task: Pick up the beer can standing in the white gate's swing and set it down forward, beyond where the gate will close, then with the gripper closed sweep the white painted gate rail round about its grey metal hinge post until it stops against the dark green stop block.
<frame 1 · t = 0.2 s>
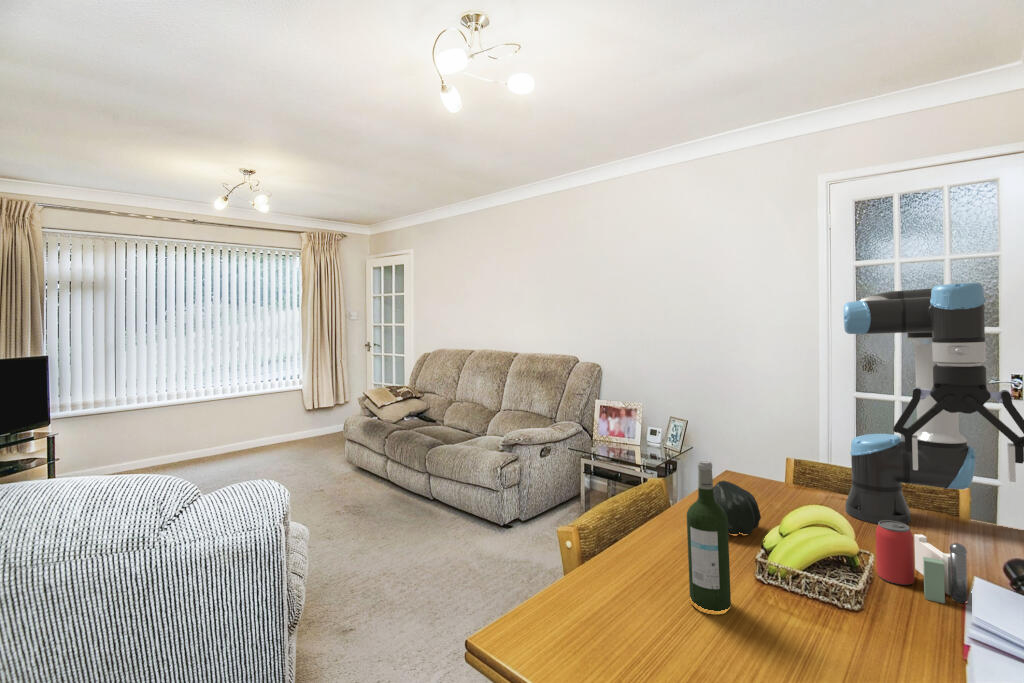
hand: (961, 474, 93), 27 cm above the table, tool pointing down, fingers open, 13 cm apart
hinge post: (959, 600, 98), on the table
wine bottle: (710, 605, 101), on the table
squash: (731, 531, 135), on the table
stop block: (934, 599, 99), on the table
beer can: (895, 579, 107), on the table
gate: (934, 563, 105), point 4 cm above the table, hinge at 0.0°
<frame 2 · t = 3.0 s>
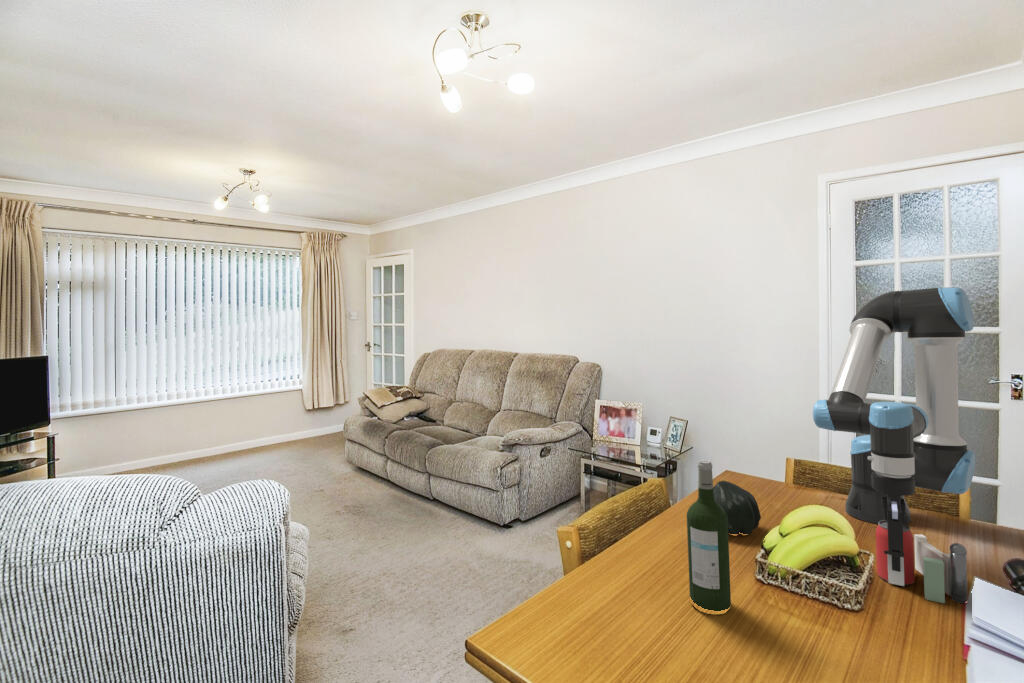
hand: (895, 576, 107), 0 cm above the table, tool pointing down, fingers closed on beer can, 7 cm apart
beer can: (895, 579, 107), on the table, touching gripper
everything else where it was.
when the fingers open (2 cm above the table, at t = 8.3 s): beer can drops 1 cm, on the table.
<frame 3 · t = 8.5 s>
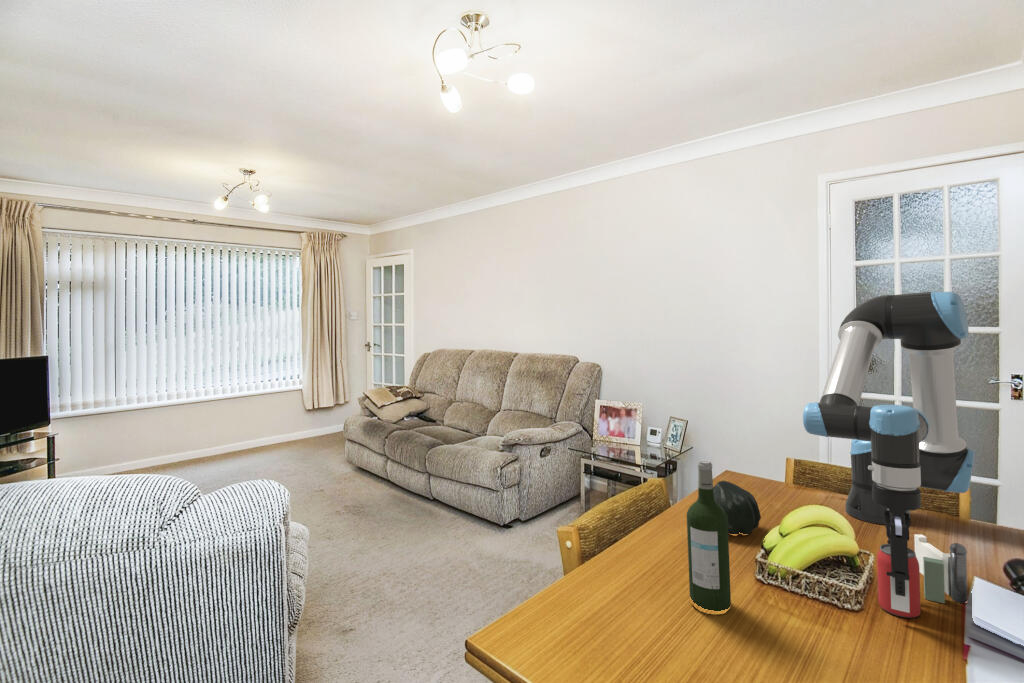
hand: (898, 597, 96), 3 cm above the table, tool pointing down, fingers open, 9 cm apart
beer can: (899, 610, 96), on the table
everything else where it was.
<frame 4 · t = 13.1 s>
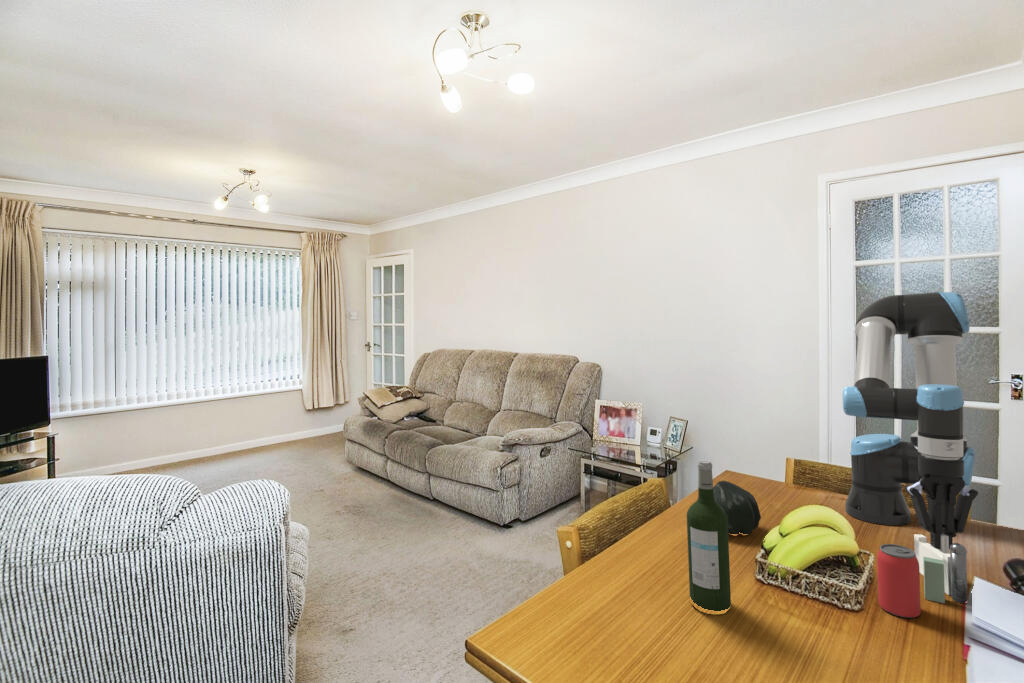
hand: (941, 563, 106), 4 cm above the table, tool pointing down, fingers closed
gate: (934, 563, 105), point 4 cm above the table, hinge at 0.3°, touching gripper
everything else where it was.
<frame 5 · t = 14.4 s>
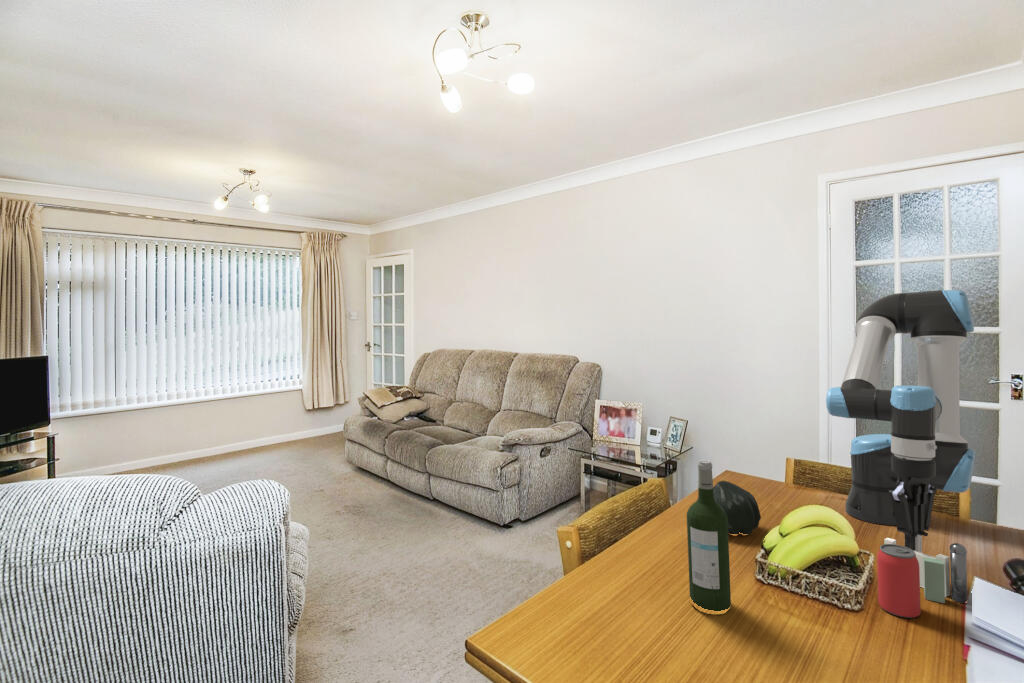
hand: (913, 563, 106), 4 cm above the table, tool pointing down, fingers closed
gate: (915, 565, 104), point 4 cm above the table, hinge at 38.0°, touching gripper
everything else where it was.
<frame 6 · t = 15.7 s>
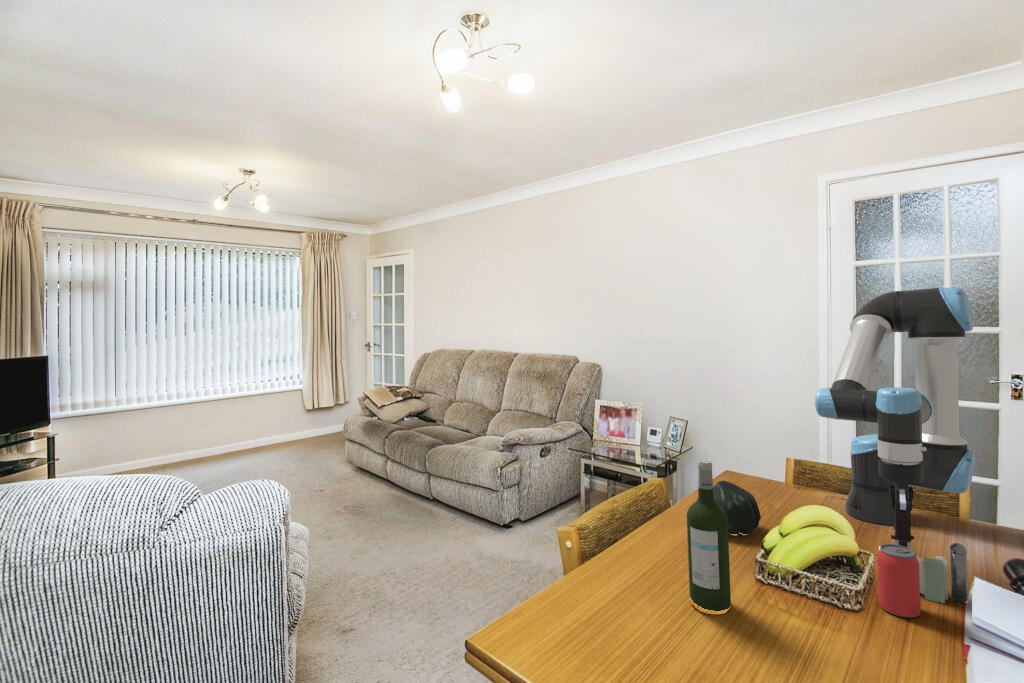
hand: (903, 569, 104), 3 cm above the table, tool pointing down, fingers closed
gate: (912, 571, 102), point 4 cm above the table, hinge at 66.2°, touching gripper, stop block
everything else where it was.
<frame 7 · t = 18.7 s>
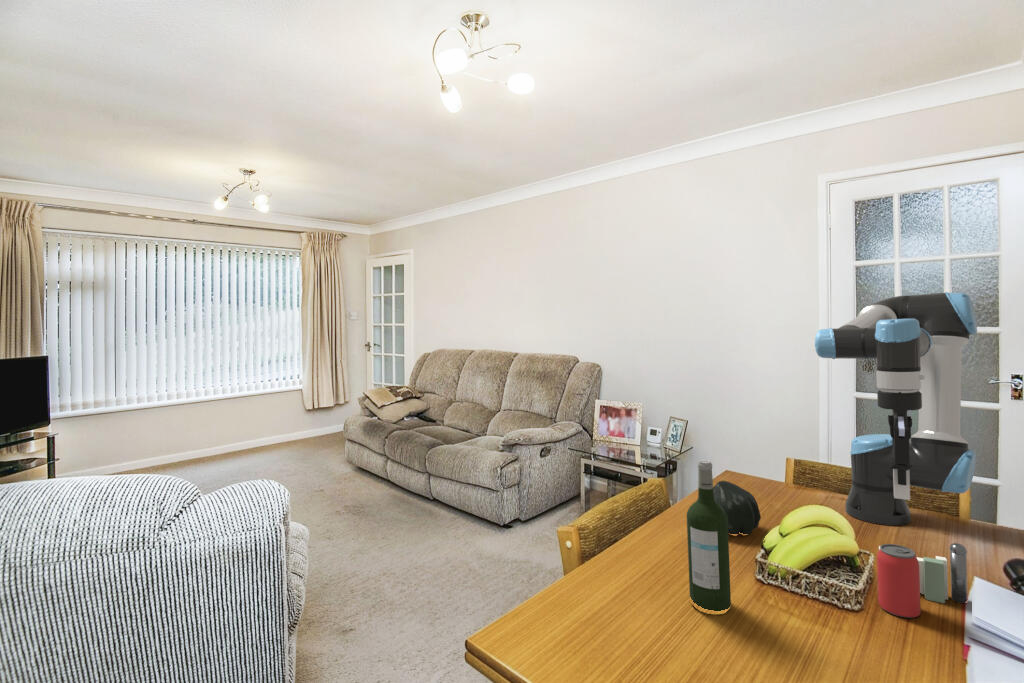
hand: (901, 497, 105), 18 cm above the table, tool pointing down, fingers closed
gate: (912, 571, 102), point 4 cm above the table, hinge at 66.1°, touching stop block
everything else where it was.
at the end: gate at +66° (first picture: +0°); beer can inside the target area (1.1 cm from its centre), on the table; beer can tilted 0° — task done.
